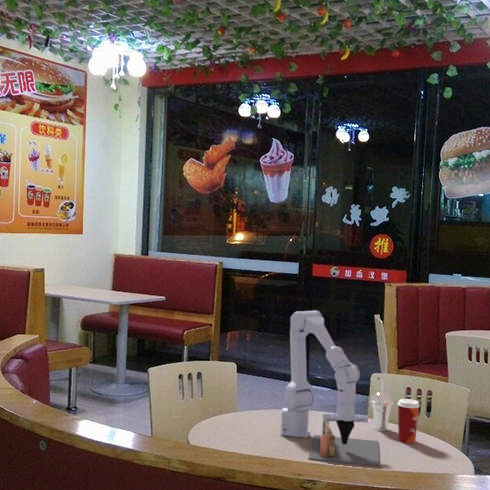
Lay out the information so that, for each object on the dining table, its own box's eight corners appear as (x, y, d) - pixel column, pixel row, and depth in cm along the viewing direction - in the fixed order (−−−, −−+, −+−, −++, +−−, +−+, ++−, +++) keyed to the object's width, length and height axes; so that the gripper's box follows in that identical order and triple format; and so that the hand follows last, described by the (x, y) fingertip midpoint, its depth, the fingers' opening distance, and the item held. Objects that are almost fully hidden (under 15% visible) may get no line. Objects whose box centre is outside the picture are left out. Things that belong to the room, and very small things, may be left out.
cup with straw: (397, 430, 245) (399, 376, 245) (379, 434, 240) (382, 379, 240) (380, 424, 252) (382, 371, 252) (362, 427, 247) (365, 374, 247)
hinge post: (321, 441, 229) (322, 419, 229) (322, 439, 231) (323, 418, 231) (327, 442, 229) (328, 420, 229) (328, 440, 231) (329, 418, 231)
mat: (308, 459, 211) (308, 457, 211) (314, 436, 235) (314, 434, 235) (379, 466, 207) (379, 465, 207) (378, 442, 231) (378, 441, 231)
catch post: (319, 458, 213) (320, 436, 213) (320, 455, 215) (321, 434, 215) (327, 458, 212) (328, 437, 212) (327, 456, 215) (328, 434, 214)
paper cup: (418, 445, 229) (420, 405, 229) (395, 443, 231) (397, 403, 231) (417, 438, 237) (419, 399, 237) (395, 436, 239) (397, 397, 238)
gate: (323, 439, 228) (323, 421, 228) (328, 439, 228) (329, 422, 228) (328, 455, 213) (329, 436, 212) (334, 455, 213) (335, 436, 212)
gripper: (326, 405, 214) (324, 446, 215) (370, 406, 215) (368, 447, 216) (322, 399, 221) (320, 439, 222) (365, 400, 222) (363, 440, 223)
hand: (344, 443), depth 219 cm, fingers closed
